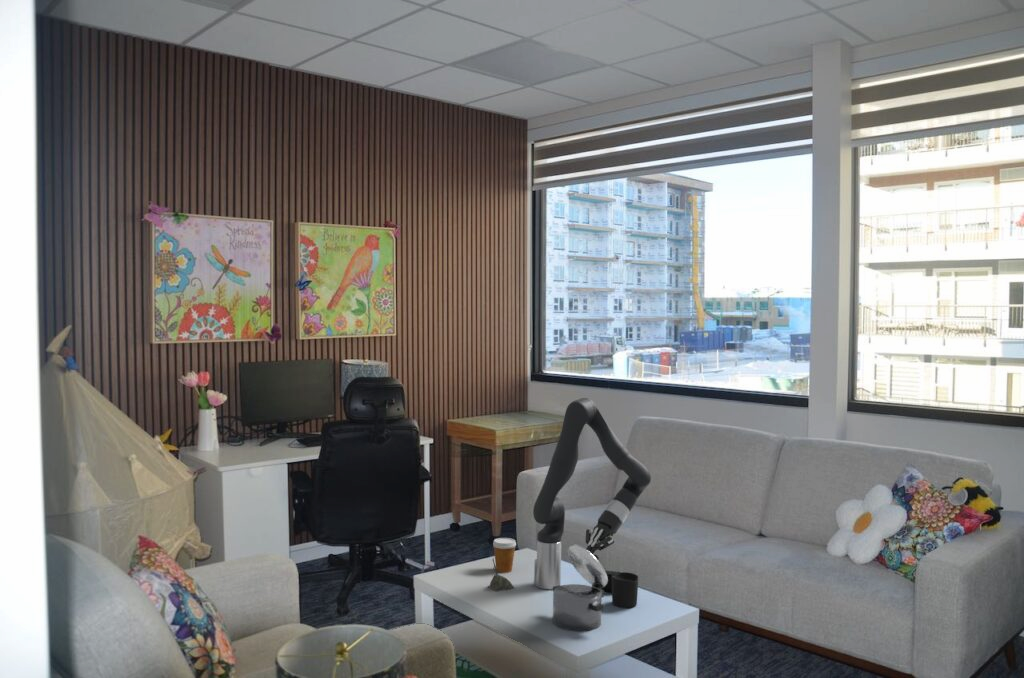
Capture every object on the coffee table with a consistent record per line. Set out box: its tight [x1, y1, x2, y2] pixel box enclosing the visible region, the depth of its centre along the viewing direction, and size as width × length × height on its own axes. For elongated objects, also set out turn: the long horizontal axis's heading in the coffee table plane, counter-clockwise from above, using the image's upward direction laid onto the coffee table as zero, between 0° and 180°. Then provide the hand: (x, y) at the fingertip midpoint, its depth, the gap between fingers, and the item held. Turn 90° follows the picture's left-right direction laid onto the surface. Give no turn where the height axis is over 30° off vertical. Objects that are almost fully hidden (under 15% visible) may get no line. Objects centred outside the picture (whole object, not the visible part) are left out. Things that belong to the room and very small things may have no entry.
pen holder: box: [611, 571, 639, 609], centre depth 279 cm, size 9×9×10 cm
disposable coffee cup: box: [492, 537, 517, 574], centre depth 317 cm, size 10×10×12 cm
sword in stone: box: [486, 558, 515, 592], centre depth 295 cm, size 10×8×12 cm
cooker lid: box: [567, 543, 608, 589], centre depth 264 cm, size 18×17×3 cm
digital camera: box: [591, 570, 621, 594], centre depth 295 cm, size 10×5×7 cm, turn 78°
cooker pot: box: [552, 583, 605, 632], centre depth 261 cm, size 17×23×10 cm
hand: (585, 557), depth 263 cm, fingers closed
